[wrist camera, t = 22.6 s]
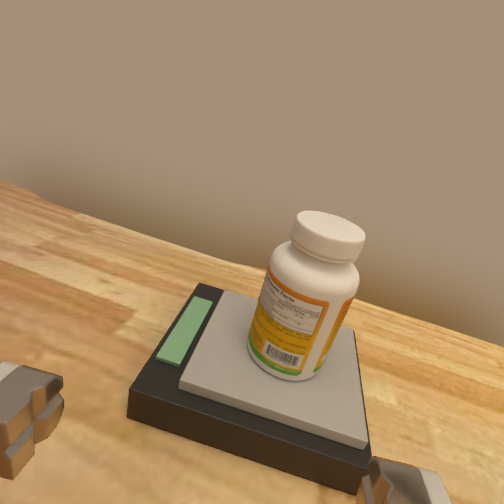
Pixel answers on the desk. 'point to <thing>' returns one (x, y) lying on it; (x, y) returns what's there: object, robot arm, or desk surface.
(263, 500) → the desk surface
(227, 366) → the scale
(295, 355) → the supplement bottle
